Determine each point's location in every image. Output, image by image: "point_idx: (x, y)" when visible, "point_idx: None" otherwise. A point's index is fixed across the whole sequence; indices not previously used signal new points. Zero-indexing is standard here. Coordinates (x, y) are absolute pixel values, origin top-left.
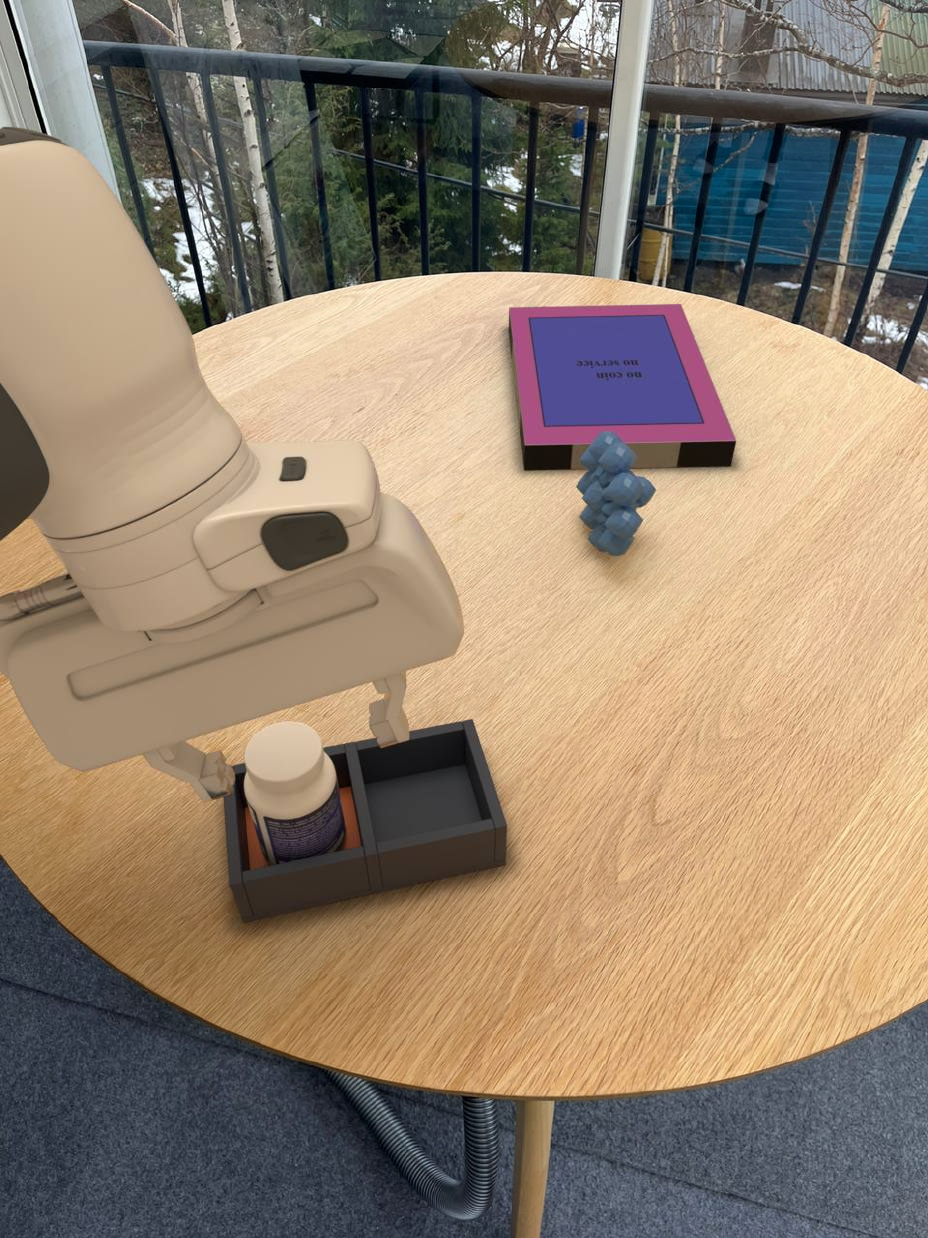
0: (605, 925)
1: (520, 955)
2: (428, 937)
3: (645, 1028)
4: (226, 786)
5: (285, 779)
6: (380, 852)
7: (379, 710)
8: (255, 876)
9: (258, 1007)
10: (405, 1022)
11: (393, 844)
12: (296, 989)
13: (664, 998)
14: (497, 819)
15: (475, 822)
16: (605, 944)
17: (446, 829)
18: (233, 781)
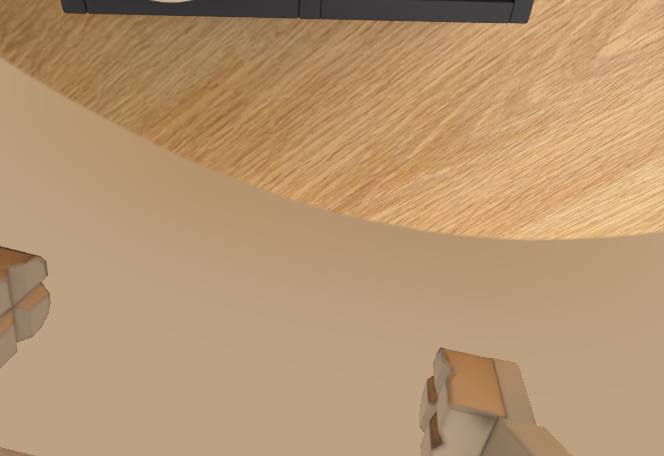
0: (547, 104)
1: (443, 115)
2: (351, 68)
3: (513, 202)
4: (30, 332)
5: (165, 1)
6: (324, 18)
7: (467, 444)
8: (109, 8)
9: (131, 104)
10: (300, 154)
11: (348, 9)
12: (179, 94)
13: (547, 183)
14: (521, 8)
15: (487, 3)
16: (532, 124)
17: (439, 4)
18: (44, 277)
